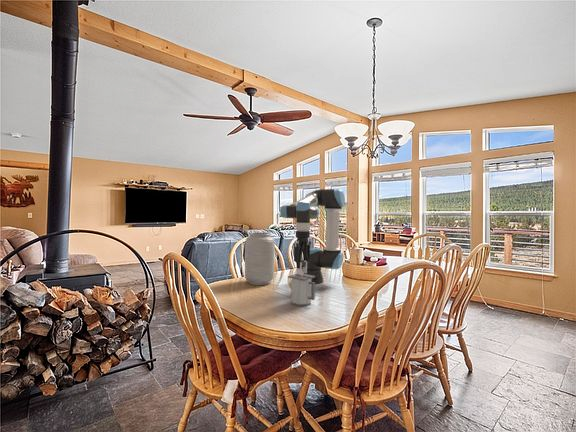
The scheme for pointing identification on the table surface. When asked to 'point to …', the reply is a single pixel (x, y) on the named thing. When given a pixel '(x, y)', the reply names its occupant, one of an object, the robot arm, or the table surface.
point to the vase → (259, 258)
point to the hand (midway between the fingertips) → (301, 273)
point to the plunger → (303, 266)
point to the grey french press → (302, 289)
